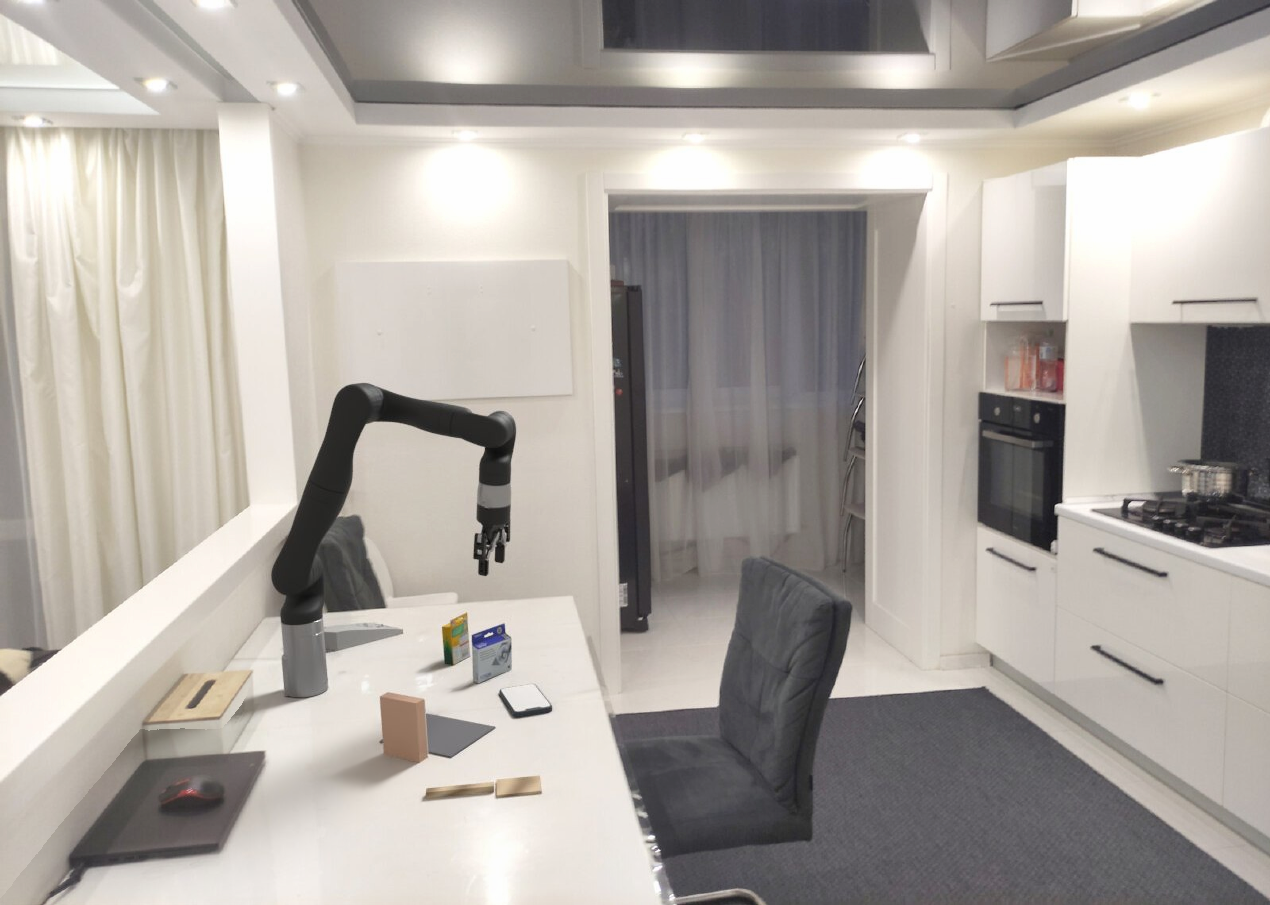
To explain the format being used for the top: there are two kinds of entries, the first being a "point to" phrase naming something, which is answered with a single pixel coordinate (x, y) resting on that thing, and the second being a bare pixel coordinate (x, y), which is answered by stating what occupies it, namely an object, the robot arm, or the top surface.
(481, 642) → the ink box
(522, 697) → the phone case
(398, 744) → the tile
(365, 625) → the ramp
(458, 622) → the crayon box
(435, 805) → the top surface
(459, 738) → the mat
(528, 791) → the turner
